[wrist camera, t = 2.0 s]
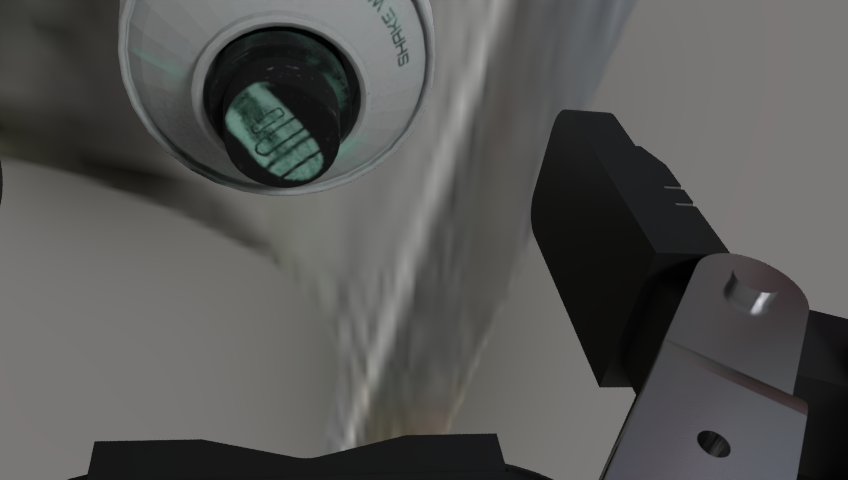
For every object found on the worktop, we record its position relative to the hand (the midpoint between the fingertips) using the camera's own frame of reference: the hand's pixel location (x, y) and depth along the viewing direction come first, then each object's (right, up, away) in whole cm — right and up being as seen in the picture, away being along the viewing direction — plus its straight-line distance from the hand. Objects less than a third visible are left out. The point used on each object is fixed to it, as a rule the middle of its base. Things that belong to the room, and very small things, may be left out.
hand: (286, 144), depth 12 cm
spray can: (-3, +12, +16) cm, 20 cm away
